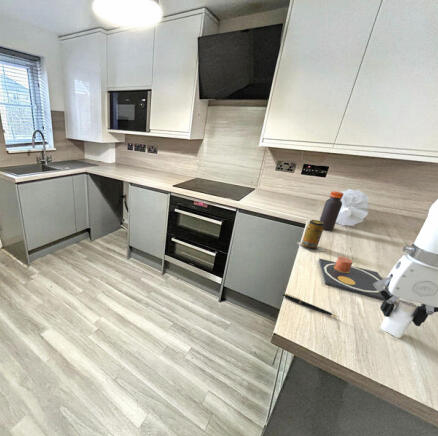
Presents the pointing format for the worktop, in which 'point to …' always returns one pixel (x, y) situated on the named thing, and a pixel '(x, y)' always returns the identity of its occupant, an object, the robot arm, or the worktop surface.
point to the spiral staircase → (352, 207)
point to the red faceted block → (343, 264)
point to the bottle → (331, 210)
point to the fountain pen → (307, 304)
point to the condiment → (312, 236)
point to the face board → (351, 279)
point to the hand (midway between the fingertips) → (399, 317)
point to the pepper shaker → (399, 318)
